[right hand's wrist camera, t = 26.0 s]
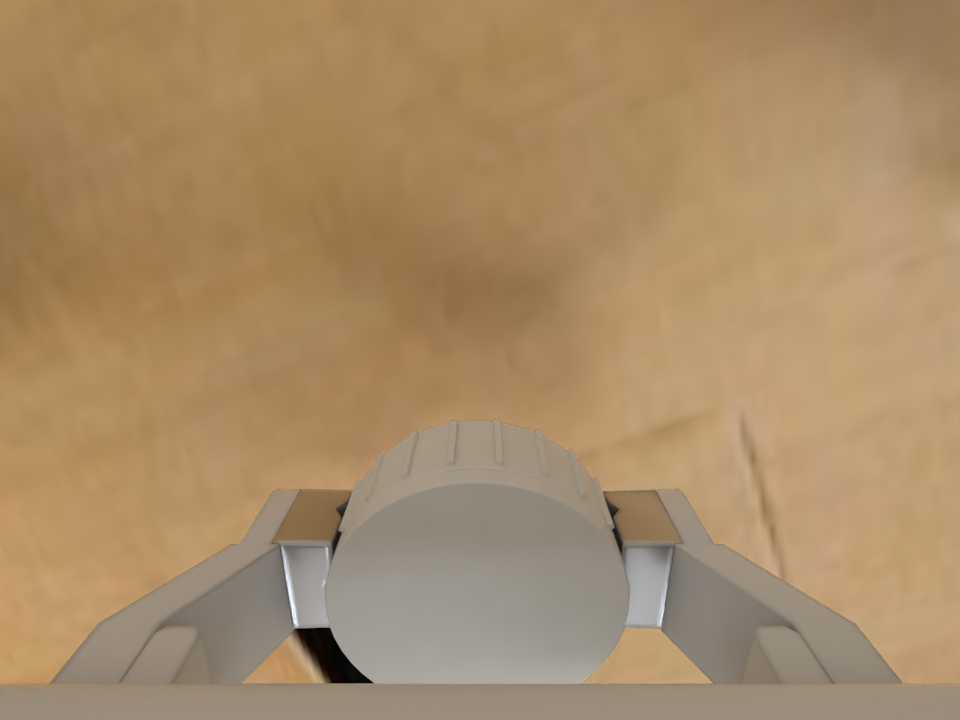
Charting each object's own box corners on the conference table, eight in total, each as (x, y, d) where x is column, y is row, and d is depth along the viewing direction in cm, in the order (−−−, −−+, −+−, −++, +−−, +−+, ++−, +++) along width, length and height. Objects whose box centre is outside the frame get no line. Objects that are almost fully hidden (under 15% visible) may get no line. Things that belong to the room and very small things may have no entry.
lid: (291, 528, 10) (253, 606, 8) (482, 360, 9) (482, 411, 7) (473, 664, 12) (472, 756, 10) (661, 534, 10) (698, 614, 9)
